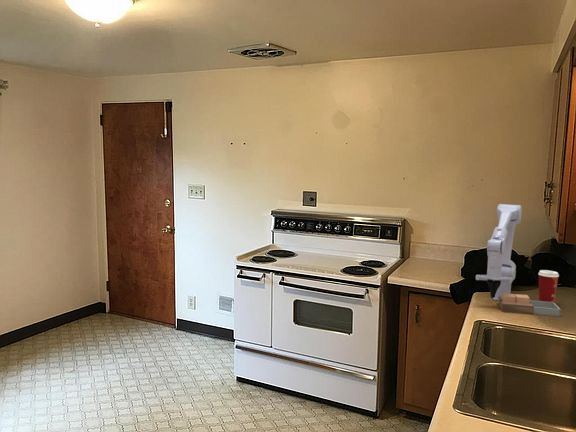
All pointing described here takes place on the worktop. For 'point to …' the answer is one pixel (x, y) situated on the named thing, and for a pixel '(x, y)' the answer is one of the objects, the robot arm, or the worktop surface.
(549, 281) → the coffee cup
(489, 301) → the worktop surface
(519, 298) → the tile
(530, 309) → the board
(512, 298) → the tile
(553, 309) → the tray
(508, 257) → the robot arm
